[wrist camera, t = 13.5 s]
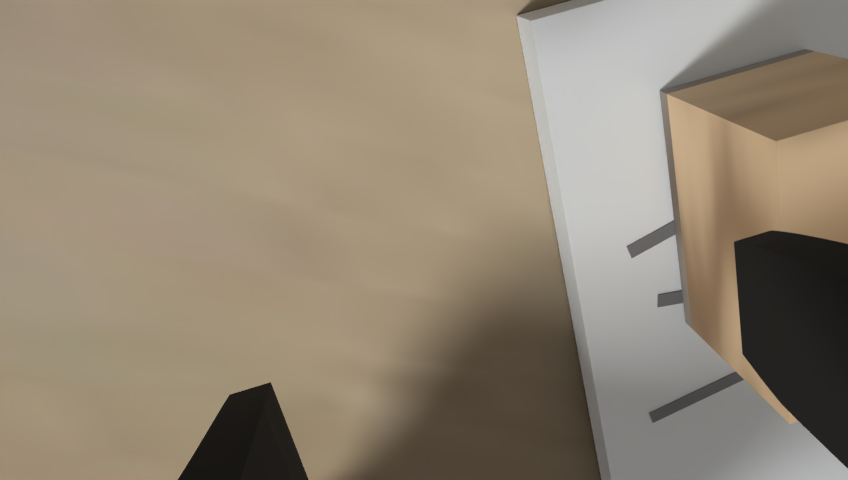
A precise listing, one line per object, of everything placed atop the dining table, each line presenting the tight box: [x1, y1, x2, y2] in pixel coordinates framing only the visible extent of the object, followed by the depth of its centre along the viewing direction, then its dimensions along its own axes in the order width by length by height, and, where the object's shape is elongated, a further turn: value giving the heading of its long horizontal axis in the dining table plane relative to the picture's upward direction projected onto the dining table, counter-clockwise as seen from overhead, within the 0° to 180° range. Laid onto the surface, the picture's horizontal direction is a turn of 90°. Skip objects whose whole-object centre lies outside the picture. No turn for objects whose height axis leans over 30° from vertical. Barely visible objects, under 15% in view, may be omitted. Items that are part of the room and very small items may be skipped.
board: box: [517, 0, 848, 480], centre depth 23 cm, size 18×10×1 cm, turn 14°
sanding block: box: [660, 49, 848, 424], centre depth 19 cm, size 7×4×5 cm, turn 14°
